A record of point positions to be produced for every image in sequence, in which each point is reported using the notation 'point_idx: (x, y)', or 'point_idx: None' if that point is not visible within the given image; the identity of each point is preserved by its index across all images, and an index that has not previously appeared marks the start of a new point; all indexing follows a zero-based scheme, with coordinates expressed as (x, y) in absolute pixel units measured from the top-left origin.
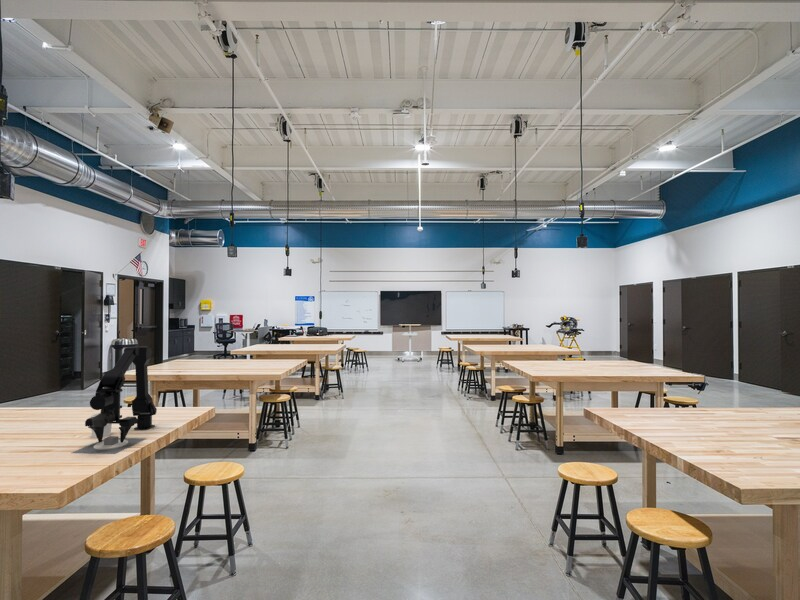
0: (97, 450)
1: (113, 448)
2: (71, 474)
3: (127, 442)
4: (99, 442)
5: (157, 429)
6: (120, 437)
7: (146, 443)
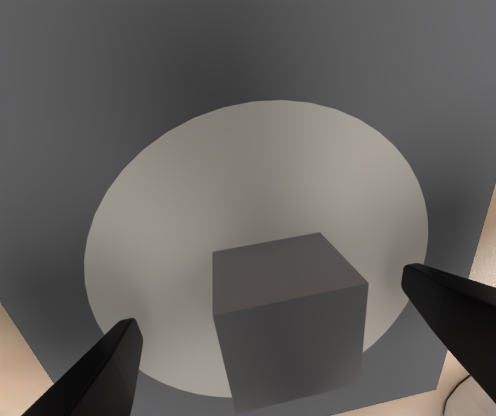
0: (272, 73)
1: (117, 183)
2: None
3: None
4: None
5: None
6: (80, 386)
7: (3, 407)
